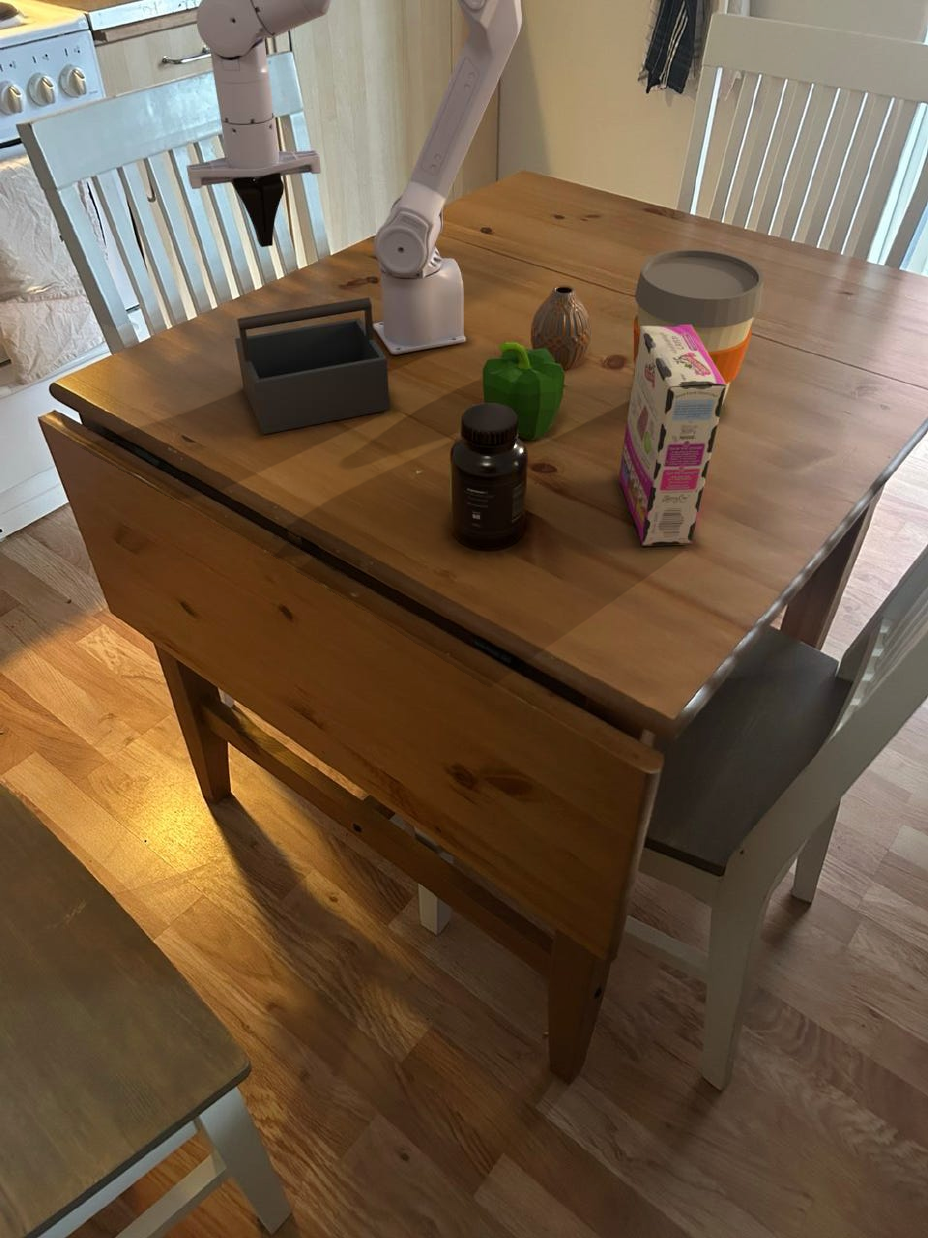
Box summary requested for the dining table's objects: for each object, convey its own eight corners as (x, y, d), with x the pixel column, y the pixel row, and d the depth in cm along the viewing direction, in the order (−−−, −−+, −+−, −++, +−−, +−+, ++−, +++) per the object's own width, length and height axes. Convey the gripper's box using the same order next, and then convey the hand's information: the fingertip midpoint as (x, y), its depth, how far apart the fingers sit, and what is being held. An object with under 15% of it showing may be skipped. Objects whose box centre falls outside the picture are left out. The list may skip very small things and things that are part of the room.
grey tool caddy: (389, 409, 104) (384, 318, 97) (263, 434, 101) (247, 341, 94) (363, 366, 111) (356, 278, 104) (243, 388, 108) (227, 298, 101)
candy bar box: (695, 545, 87) (730, 384, 76) (641, 548, 87) (668, 386, 76) (666, 476, 96) (693, 320, 84) (616, 478, 95) (637, 322, 84)
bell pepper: (565, 412, 104) (572, 326, 98) (555, 453, 98) (562, 365, 92) (489, 404, 106) (491, 318, 99) (475, 444, 100) (476, 356, 93)
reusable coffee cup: (715, 448, 99) (744, 311, 89) (603, 417, 104) (618, 282, 93) (751, 394, 107) (781, 262, 97) (645, 368, 112) (664, 239, 101)
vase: (584, 378, 110) (591, 305, 104) (525, 372, 111) (528, 299, 105) (590, 350, 115) (597, 278, 109) (533, 344, 116) (537, 273, 110)
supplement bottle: (436, 536, 88) (433, 423, 80) (474, 499, 93) (475, 388, 84) (500, 561, 86) (504, 447, 77) (537, 522, 90) (544, 409, 82)
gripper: (304, 99, 108) (316, 222, 117) (173, 113, 104) (197, 239, 113) (320, 117, 103) (332, 243, 112) (183, 132, 99) (207, 262, 108)
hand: (265, 243), depth 112 cm, fingers closed
